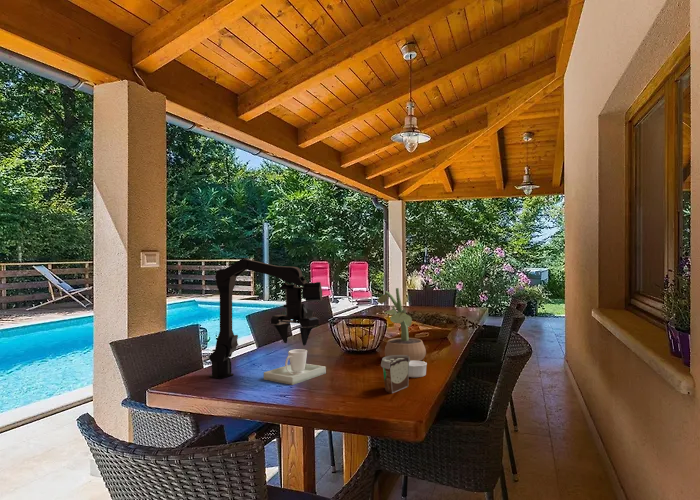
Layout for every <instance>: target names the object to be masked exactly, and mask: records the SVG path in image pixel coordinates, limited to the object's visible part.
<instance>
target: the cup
mask: <svg viewBox="0 0 700 500" xmlns="http://www.w3.org/2000/svg"><path fill="white" fill-rule="evenodd" d="M287 353H288V354H287V355H288V356H287V357H286V359H285V363H284V366H285V368H286V370H287V372H289V373H290V374H293V375H295V374H302V373H304V371H303V370H304V369H305V364H307V356H308V355H307V354H308V350H307V349H304V348H303V349H302V348H299V349H298V348H297V349H296V348H295V349H290V350H289V351H288V352H287ZM288 361H289V365H291V369H292V371H293V372H292V373H291V372H290V371H289V370H288V368H287V365H288Z"/></svg>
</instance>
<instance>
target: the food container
mask: <svg viewBox="0 0 700 500" xmlns="http://www.w3.org/2000/svg"><path fill="white" fill-rule="evenodd" d="M409 362H410V358H409V356H407V355H393V356H387V357H386V356H384V357H382V359H381V363H380V367H381V368H382V371H383V372H382V373H383V382H384V389H385V392H386V393H389V394H394V393H397V392H399V391H401V390H404V389H406V388H408V387H409V378H410V377H409Z"/></svg>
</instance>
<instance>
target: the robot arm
mask: <svg viewBox="0 0 700 500" xmlns="http://www.w3.org/2000/svg"><path fill="white" fill-rule="evenodd" d="M245 271H251V272H255V273H260V274H265V275H269V276H271V277H275V278H277V279H279V280H281V281H283V284H282V285H281V286H280V287H279V289H280V290H285V304H283V308H285V314H277V315H276V314H275V315H272V317H271V319H270V324H271V325H273V327H275V329H276V330H277V332H278V333H279V336H280V337H281V339H282V342H283V344H287V343H288V329H289V326H290V323H292V324H299V325H300V326H299V332H300V337H301V338H300V339H301V343H302V345H303V346H304V347H305V346H306V345H307V343H308V339H309V336H310V334H311V331H312V330H313V329H314V328H316V327H317V326H318V325H319V323H320V322H319V321H320V320H319V318H318V317H317V316H313V314H314V310H313V309H309V308H307V307H305V306H306V305H305V303H303V301H302V299H304V300H305V301H306V302H322V300H323V290H322V284H321V281H316V282H308V281H307V280H306V279H305V277H304V276H303V272H302V270H301V268H299V267H297V266H283V265H282V266H281V265H274V264H270V263H265V262H263V261H262V262H261V261H258V260H257V261H256V260H253V259H250V258H241V259H239V260H238V261H236V262H235V263H233V264H231V265H229V266H228V267H225V268H220V269H219V270H217V271H216V273H215V275H214V279H215V285H216V287H217V290H218V292H219V333H218V336H217V338H216V342H215V348H214V349H215V350H214V351H213V352H212V353H211V354H210V355H209V356H208V359H209V361H210V362H211V374H209V375H208V377H210V378H214V379H219V380H221V379H224V378H228V377H232V376H234V373H232V372H233V371H232V362H231V361H232V360H231V357H232V355H233V353H234V352H235V351H236V349H237V348H238V346H239V343H238V340H239V339H238V338H239V335H238V334H234V332H233V331H234V330H233V291H234V289H235V286H236V281H237V277H238V276H240V275H242V274H243V273H244V272H245ZM288 283H289V284H288Z"/></svg>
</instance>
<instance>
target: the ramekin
mask: <svg viewBox="0 0 700 500" xmlns="http://www.w3.org/2000/svg"><path fill="white" fill-rule="evenodd" d="M427 365H428V363H427V361H426V362H425V361H424V360H423V361H422V360H421V361H410V362H409V378H422V377H425V376H426V375H427Z"/></svg>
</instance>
